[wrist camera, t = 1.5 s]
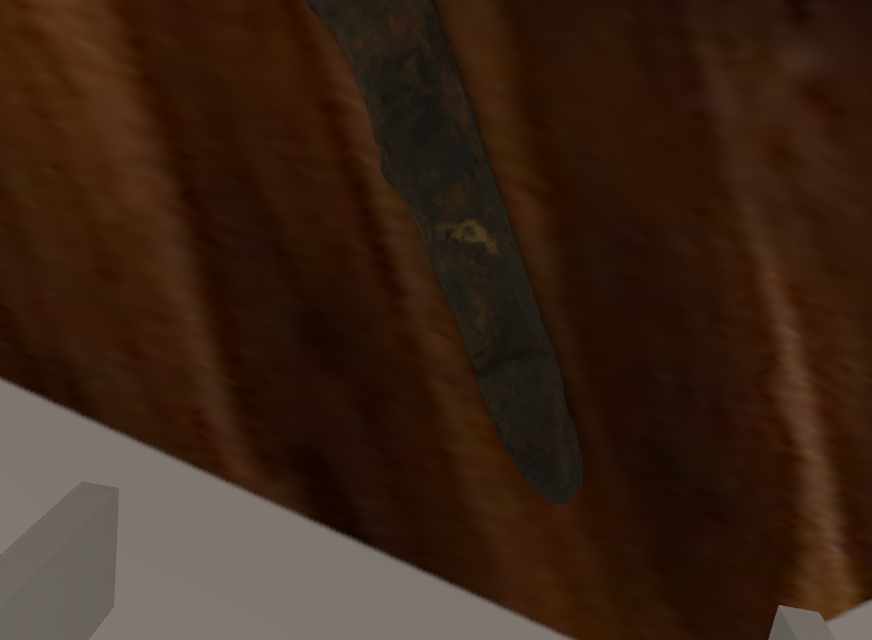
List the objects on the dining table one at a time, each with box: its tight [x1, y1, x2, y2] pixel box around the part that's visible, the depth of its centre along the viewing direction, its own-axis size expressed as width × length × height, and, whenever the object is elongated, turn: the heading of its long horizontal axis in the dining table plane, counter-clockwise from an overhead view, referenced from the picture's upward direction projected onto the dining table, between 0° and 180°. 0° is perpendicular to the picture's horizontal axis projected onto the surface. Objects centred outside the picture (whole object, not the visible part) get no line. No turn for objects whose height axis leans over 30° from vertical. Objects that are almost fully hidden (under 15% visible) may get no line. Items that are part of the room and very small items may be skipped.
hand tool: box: [305, 0, 584, 504], centre depth 27 cm, size 19×4×5 cm, turn 19°
